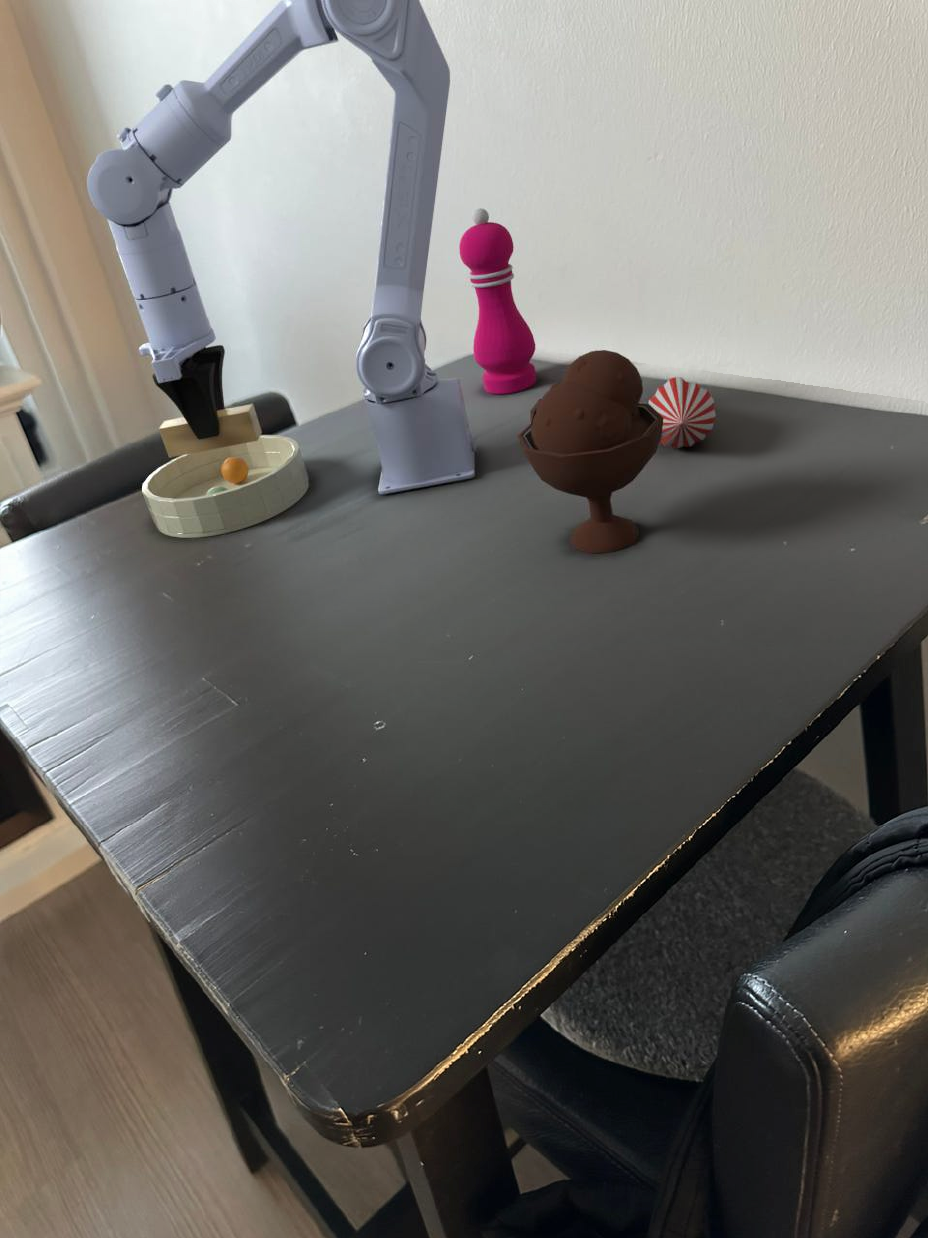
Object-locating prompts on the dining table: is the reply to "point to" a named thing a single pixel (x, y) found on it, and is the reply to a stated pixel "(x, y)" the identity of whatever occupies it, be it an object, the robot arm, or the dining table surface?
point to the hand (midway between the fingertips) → (212, 431)
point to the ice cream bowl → (594, 442)
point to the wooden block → (233, 430)
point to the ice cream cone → (683, 412)
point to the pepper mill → (497, 309)
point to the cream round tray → (259, 497)
